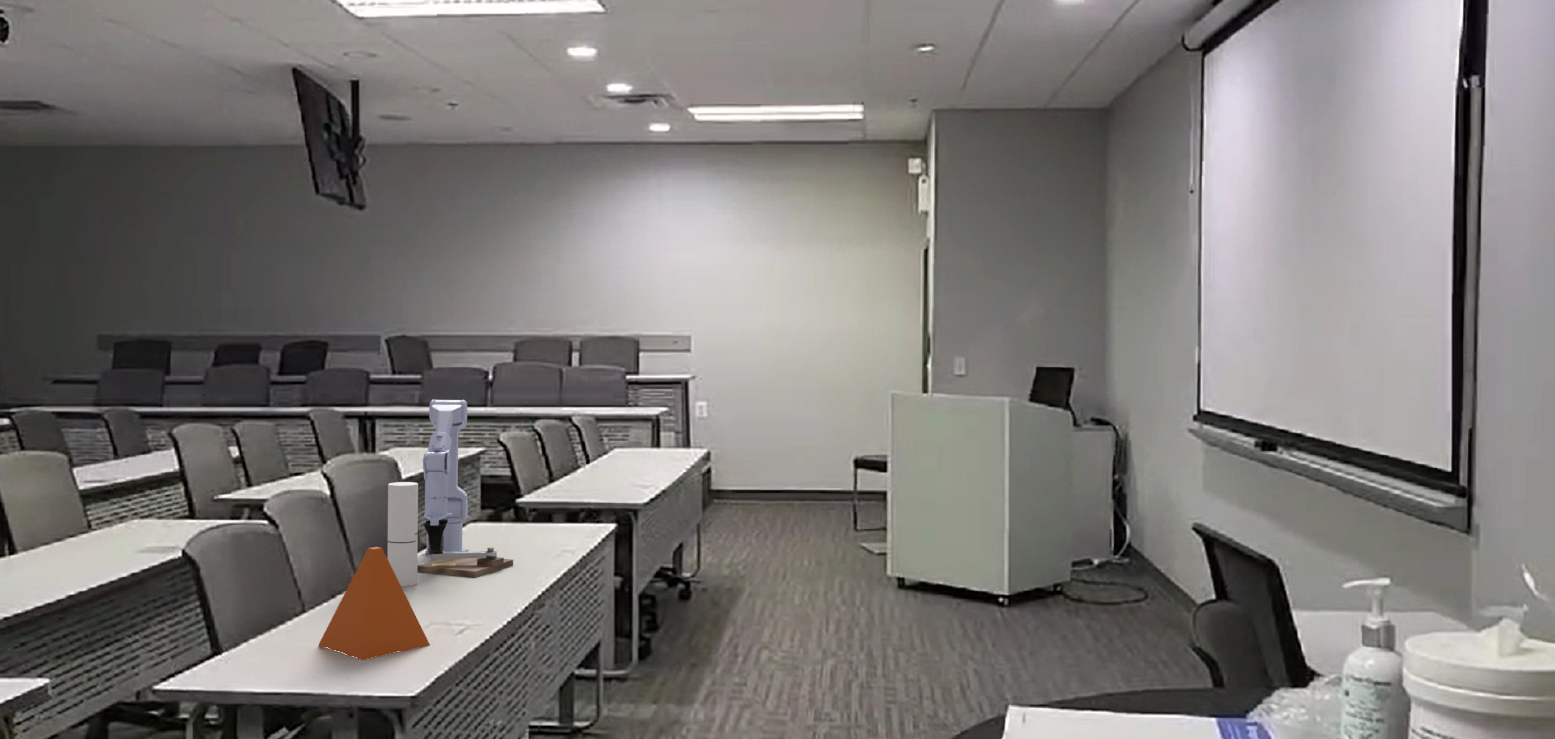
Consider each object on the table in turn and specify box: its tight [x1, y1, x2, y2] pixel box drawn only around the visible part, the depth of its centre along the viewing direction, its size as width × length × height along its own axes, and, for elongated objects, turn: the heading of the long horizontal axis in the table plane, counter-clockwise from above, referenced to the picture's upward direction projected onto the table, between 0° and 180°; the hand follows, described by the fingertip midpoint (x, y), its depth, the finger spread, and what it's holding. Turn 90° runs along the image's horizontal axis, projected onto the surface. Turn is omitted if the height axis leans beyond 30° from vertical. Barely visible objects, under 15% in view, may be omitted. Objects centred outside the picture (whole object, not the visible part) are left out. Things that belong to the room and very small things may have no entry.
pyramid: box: [318, 546, 431, 661], centre depth 252 cm, size 16×16×20 cm
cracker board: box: [417, 556, 514, 578], centre depth 332 cm, size 18×18×3 cm
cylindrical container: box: [387, 481, 419, 587], centre depth 311 cm, size 7×7×25 cm
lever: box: [427, 535, 498, 560], centre depth 329 cm, size 18×4×6 cm, turn 102°
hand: (435, 548), depth 328 cm, fingers closed on lever, 4 cm apart
